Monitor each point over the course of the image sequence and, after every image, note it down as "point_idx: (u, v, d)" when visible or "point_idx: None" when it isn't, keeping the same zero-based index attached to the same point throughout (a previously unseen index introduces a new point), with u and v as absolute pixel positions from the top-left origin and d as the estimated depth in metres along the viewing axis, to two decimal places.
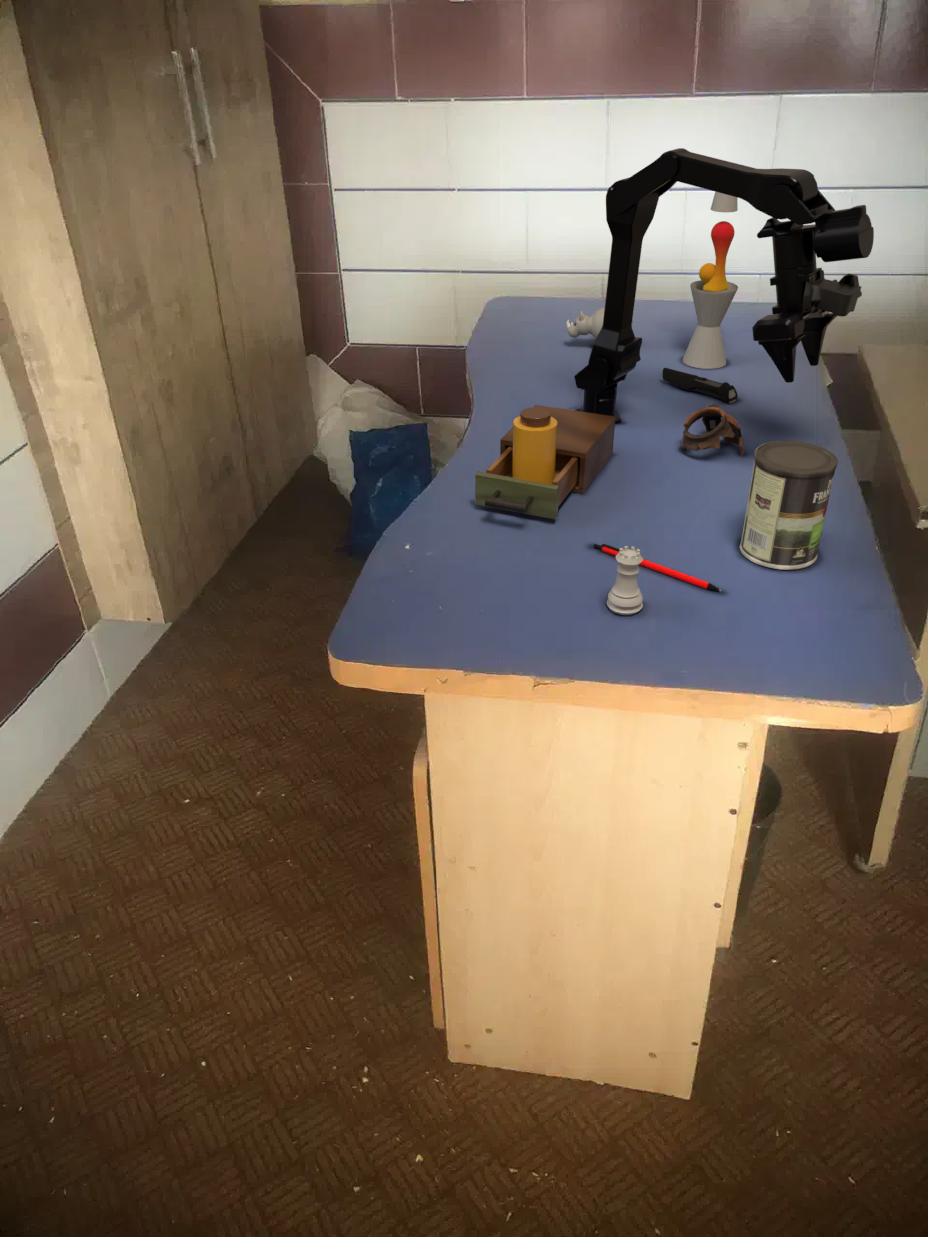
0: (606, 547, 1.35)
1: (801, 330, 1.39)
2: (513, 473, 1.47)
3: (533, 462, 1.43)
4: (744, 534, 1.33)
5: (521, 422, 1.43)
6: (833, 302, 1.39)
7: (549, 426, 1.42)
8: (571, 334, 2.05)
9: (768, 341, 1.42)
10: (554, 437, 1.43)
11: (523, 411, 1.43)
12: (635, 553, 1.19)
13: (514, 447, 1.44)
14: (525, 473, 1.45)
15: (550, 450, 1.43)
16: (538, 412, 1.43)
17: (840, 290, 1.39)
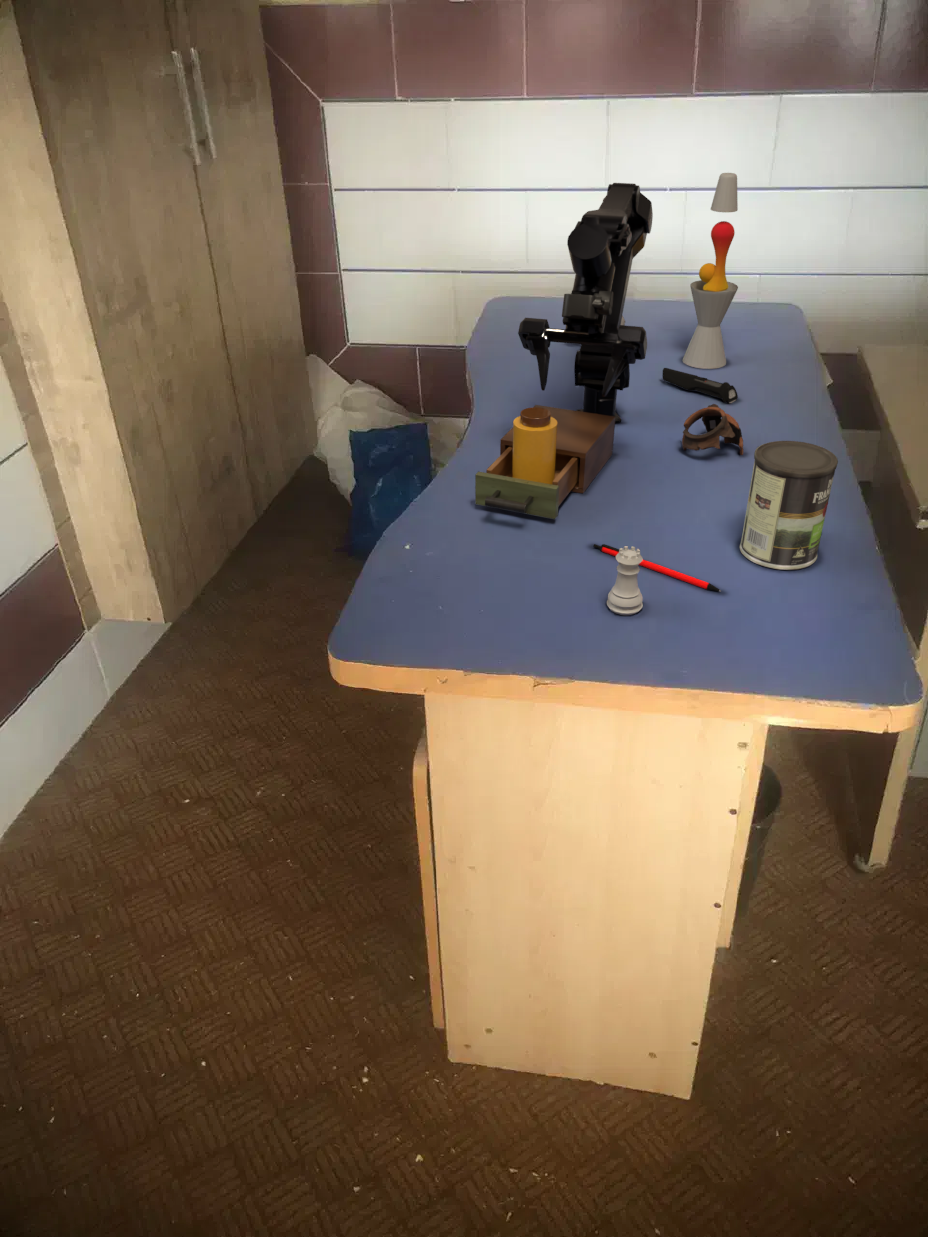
0: (606, 547, 1.35)
1: (536, 330, 1.47)
2: (513, 473, 1.47)
3: (533, 462, 1.43)
4: (744, 534, 1.33)
5: (521, 422, 1.43)
6: None
7: (549, 426, 1.42)
8: None
9: None
10: (554, 437, 1.43)
11: (523, 411, 1.43)
12: (635, 553, 1.19)
13: (514, 447, 1.44)
14: (525, 473, 1.45)
15: (550, 450, 1.43)
16: (538, 412, 1.43)
17: None
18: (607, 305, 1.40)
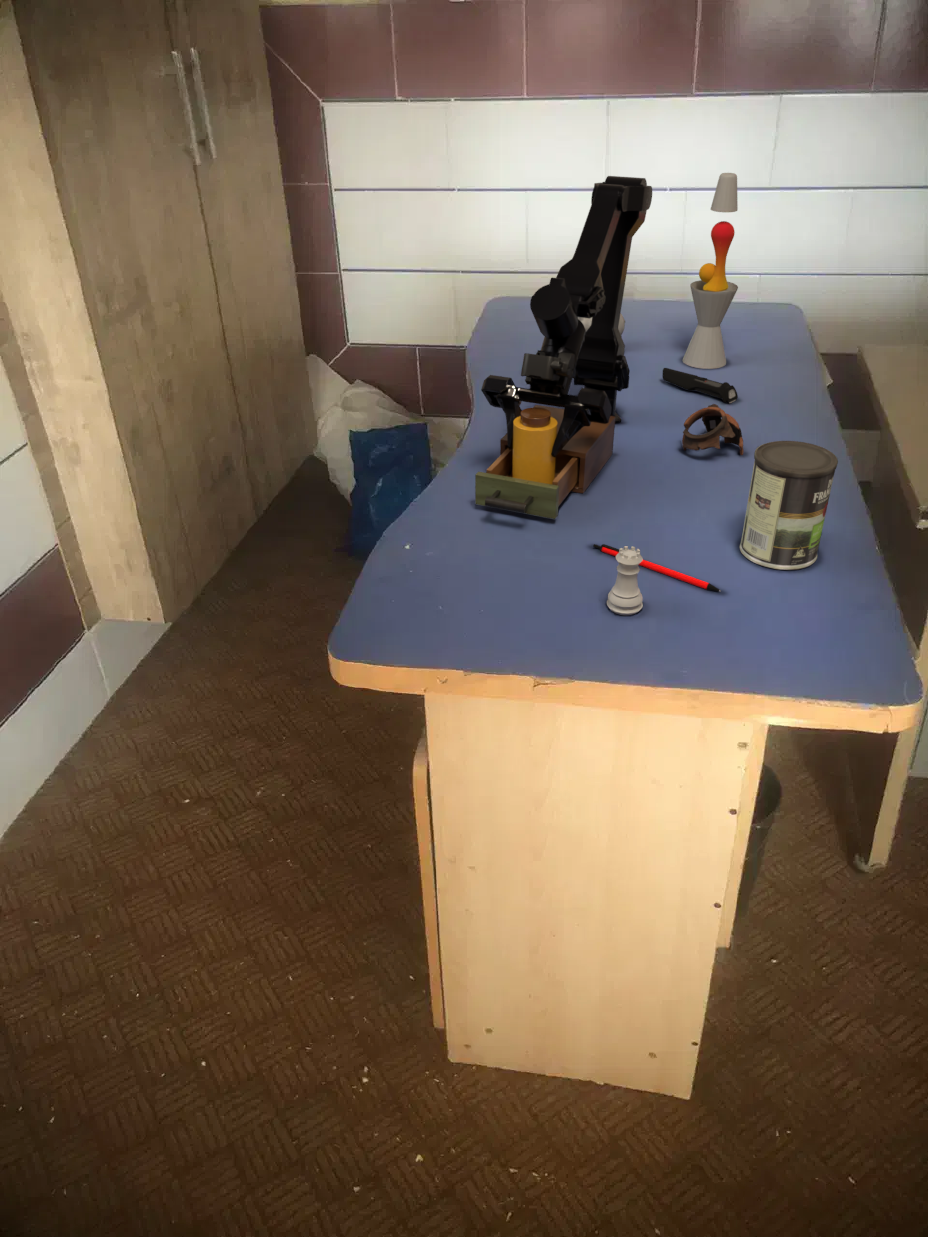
0: (606, 547, 1.35)
1: (498, 388, 1.45)
2: (513, 473, 1.47)
3: (533, 462, 1.43)
4: (744, 534, 1.33)
5: (521, 422, 1.42)
6: None
7: (549, 426, 1.42)
8: None
9: None
10: (554, 437, 1.43)
11: (523, 411, 1.43)
12: (635, 553, 1.19)
13: (514, 447, 1.44)
14: (525, 474, 1.45)
15: (550, 450, 1.43)
16: (538, 412, 1.43)
17: None
18: (566, 367, 1.38)
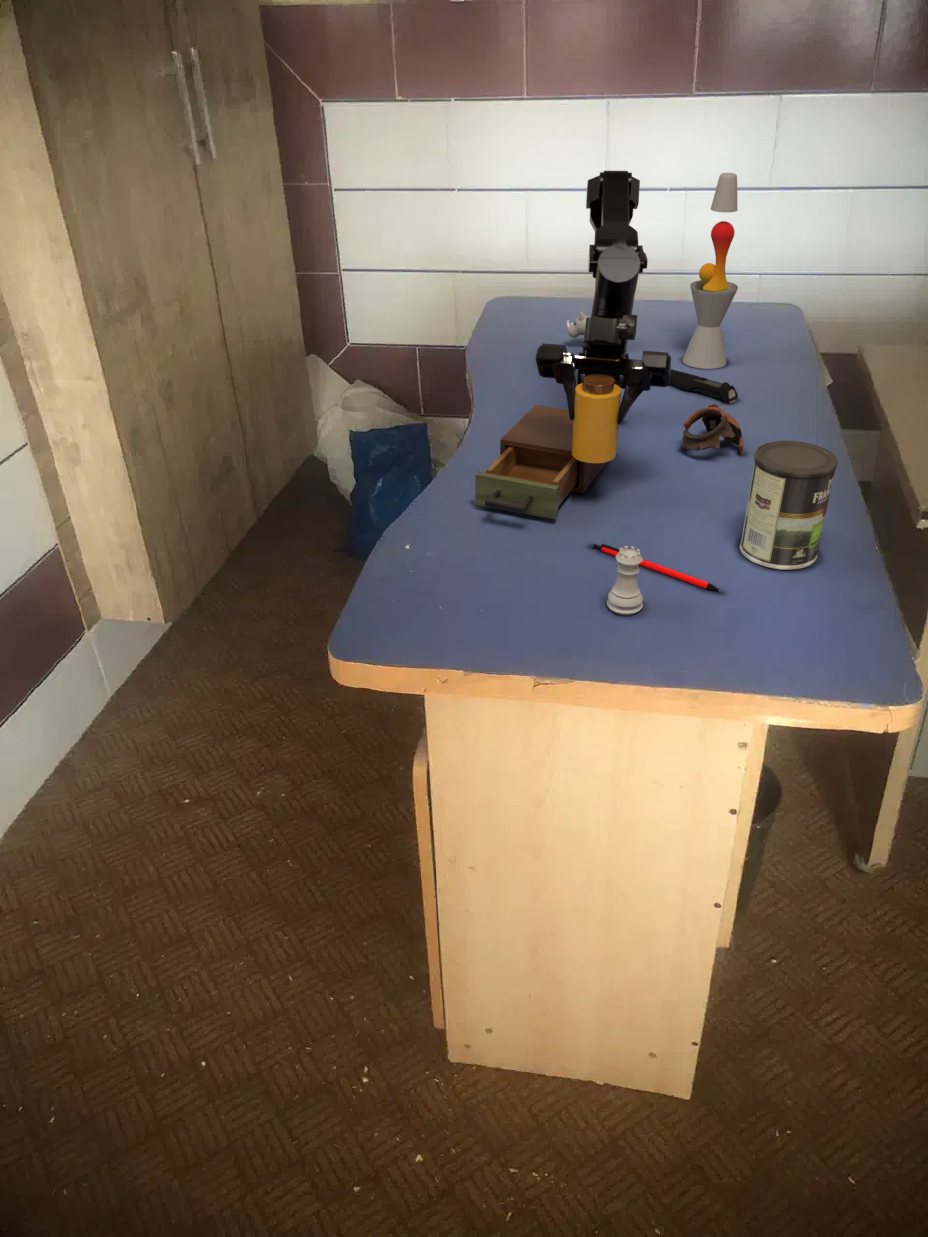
0: (606, 547, 1.35)
1: (555, 356, 1.39)
2: (575, 444, 1.41)
3: (599, 431, 1.38)
4: (744, 534, 1.33)
5: (585, 390, 1.37)
6: None
7: (614, 392, 1.37)
8: (571, 334, 2.05)
9: None
10: (619, 403, 1.38)
11: (585, 378, 1.37)
12: (635, 553, 1.19)
13: (577, 417, 1.39)
14: (590, 443, 1.39)
15: (616, 417, 1.38)
16: (601, 378, 1.38)
17: None
18: (632, 329, 1.33)
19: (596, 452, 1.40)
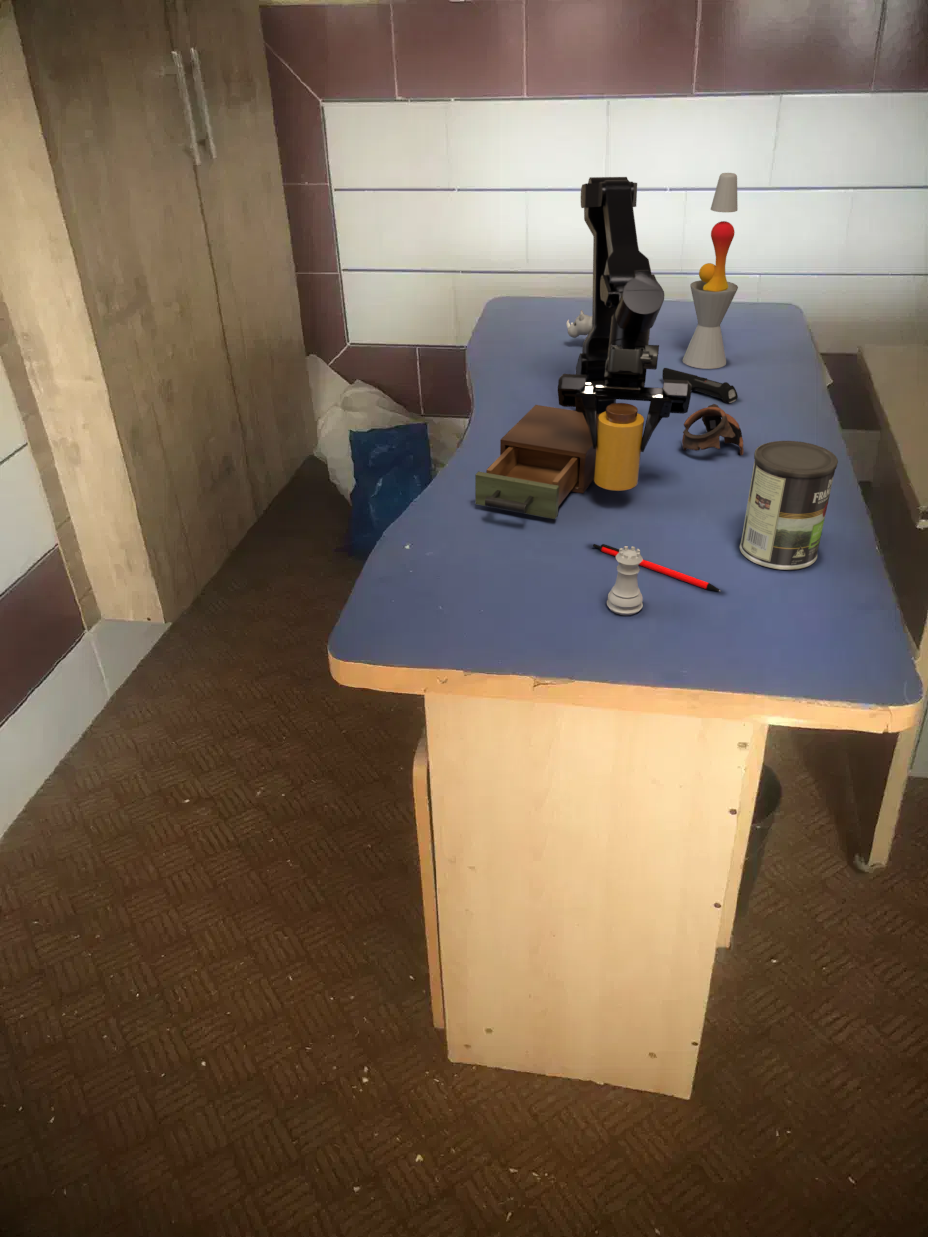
0: (605, 547, 1.35)
1: (577, 386, 1.41)
2: (599, 472, 1.43)
3: (624, 459, 1.40)
4: (744, 534, 1.33)
5: (609, 419, 1.39)
6: None
7: (638, 421, 1.39)
8: (571, 334, 2.05)
9: None
10: (642, 432, 1.40)
11: (609, 408, 1.39)
12: (635, 553, 1.19)
13: (602, 445, 1.41)
14: (615, 471, 1.41)
15: (639, 445, 1.41)
16: (624, 407, 1.40)
17: None
18: (655, 359, 1.36)
19: (620, 480, 1.42)
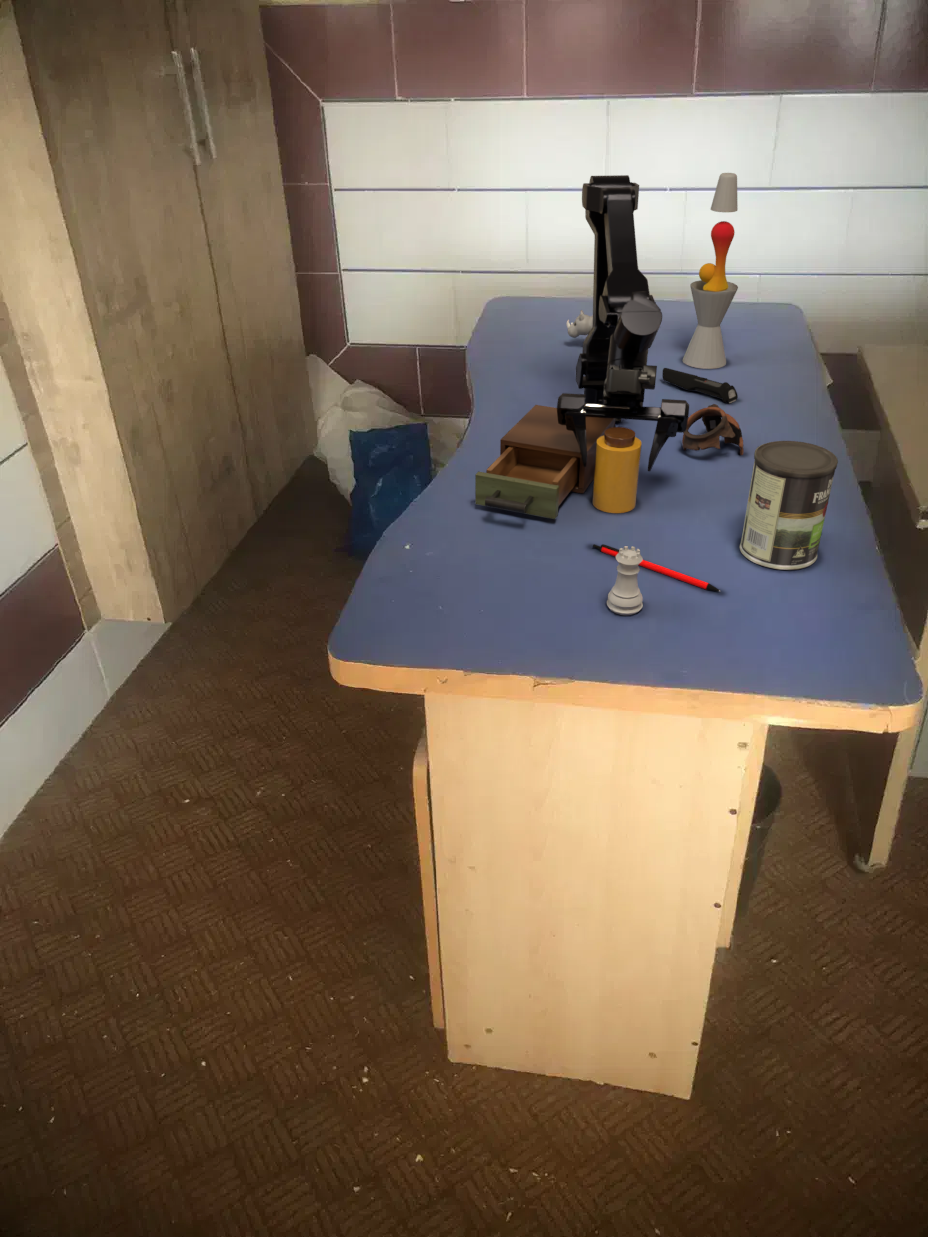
0: (605, 548, 1.35)
1: (576, 406, 1.42)
2: (597, 495, 1.45)
3: (622, 483, 1.42)
4: (744, 534, 1.33)
5: (607, 443, 1.41)
6: None
7: (635, 445, 1.41)
8: (571, 334, 2.05)
9: None
10: (640, 455, 1.42)
11: (607, 432, 1.41)
12: (635, 553, 1.19)
13: (600, 469, 1.42)
14: (613, 494, 1.43)
15: (637, 469, 1.42)
16: (622, 431, 1.42)
17: None
18: (653, 380, 1.37)
19: (618, 503, 1.44)
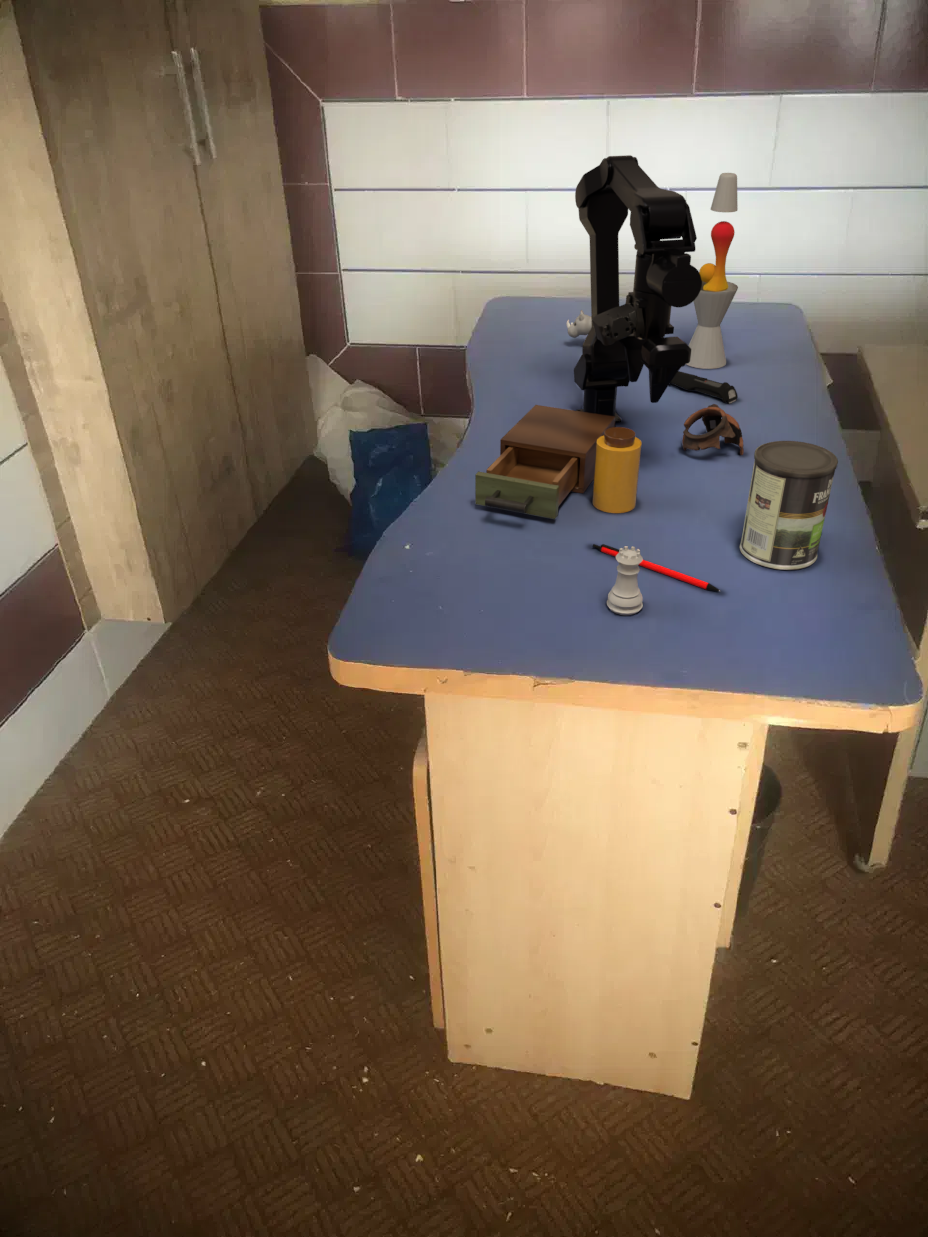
0: (605, 547, 1.35)
1: None
2: (597, 495, 1.45)
3: (622, 483, 1.42)
4: (744, 534, 1.33)
5: (607, 443, 1.41)
6: None
7: (635, 445, 1.41)
8: (571, 334, 2.05)
9: None
10: (640, 455, 1.42)
11: (607, 432, 1.41)
12: (635, 553, 1.19)
13: (600, 469, 1.42)
14: (613, 494, 1.43)
15: (637, 469, 1.42)
16: (622, 431, 1.42)
17: (602, 315, 1.46)
18: (611, 335, 1.42)
19: (618, 503, 1.44)
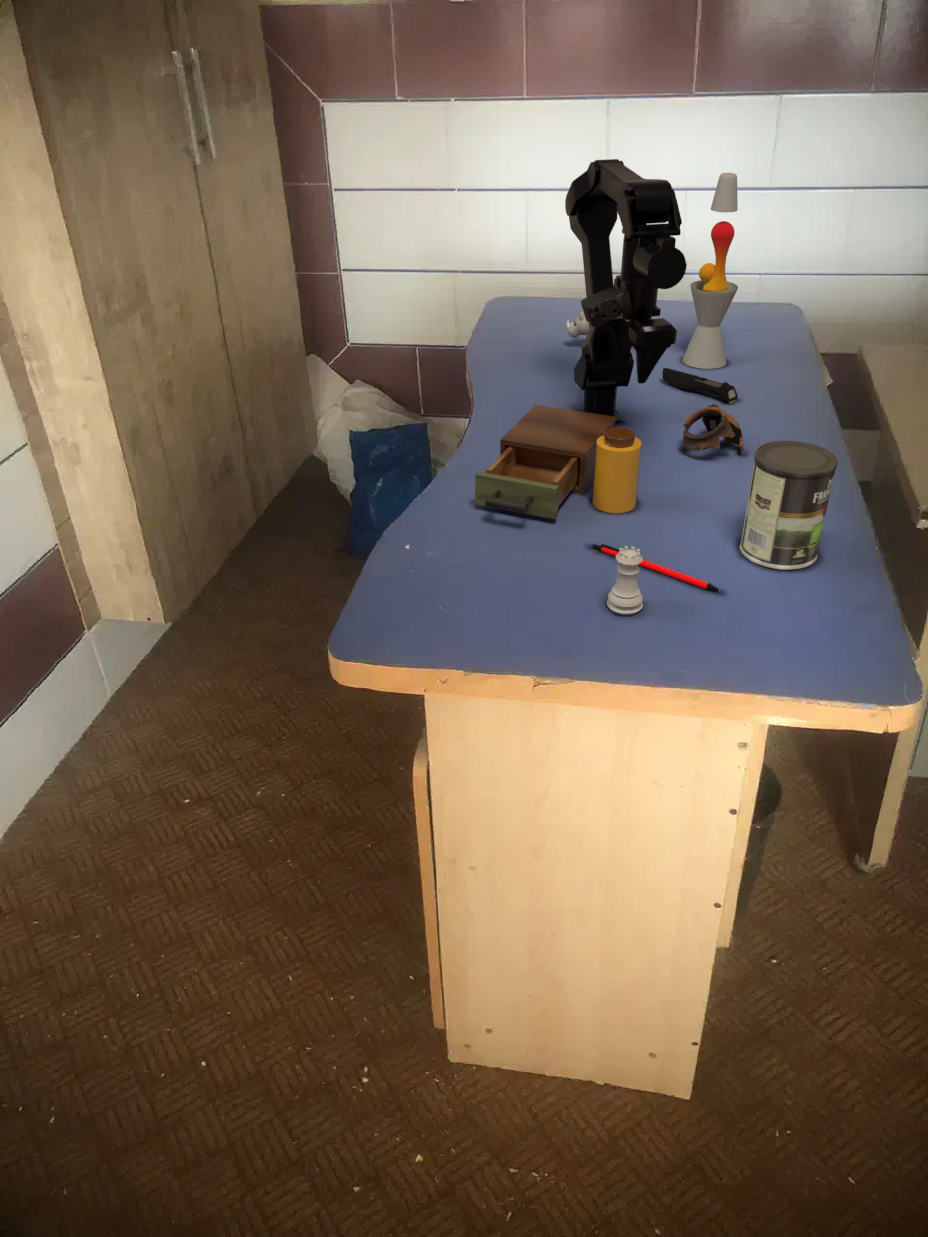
0: (605, 547, 1.35)
1: None
2: (597, 495, 1.45)
3: (622, 483, 1.42)
4: (744, 534, 1.33)
5: (607, 443, 1.41)
6: None
7: (635, 445, 1.41)
8: (571, 334, 2.05)
9: None
10: (640, 455, 1.42)
11: (607, 432, 1.41)
12: (635, 553, 1.19)
13: (600, 469, 1.42)
14: (613, 494, 1.43)
15: (637, 469, 1.42)
16: (622, 431, 1.42)
17: (591, 297, 1.50)
18: (599, 316, 1.47)
19: (618, 503, 1.44)
